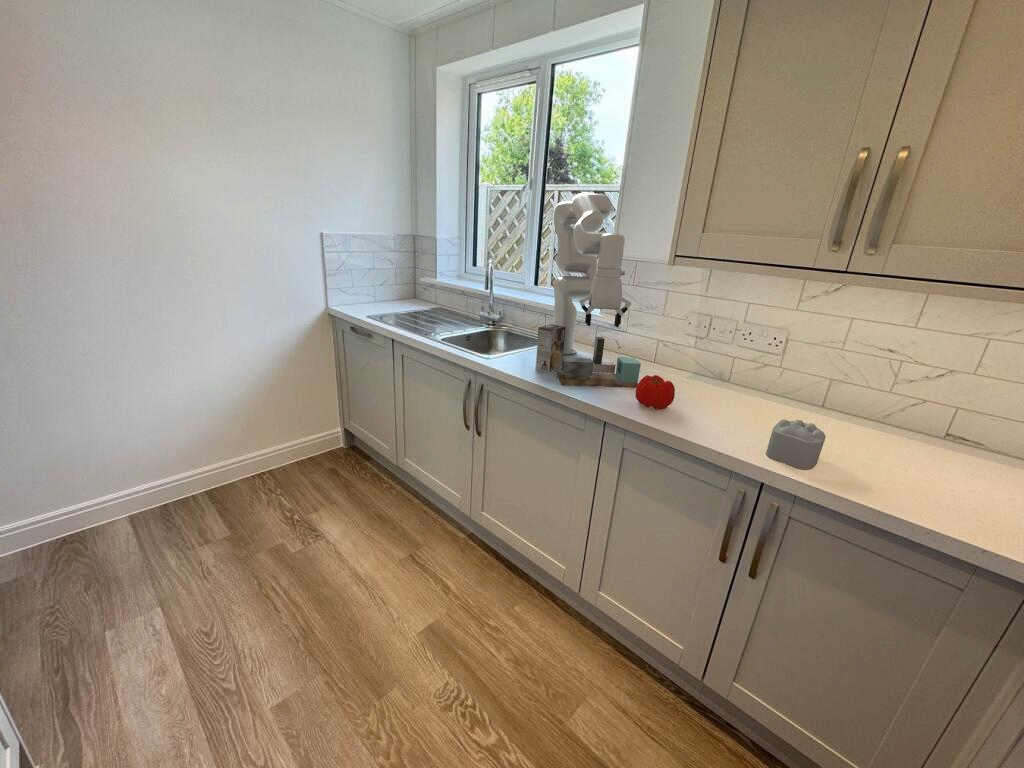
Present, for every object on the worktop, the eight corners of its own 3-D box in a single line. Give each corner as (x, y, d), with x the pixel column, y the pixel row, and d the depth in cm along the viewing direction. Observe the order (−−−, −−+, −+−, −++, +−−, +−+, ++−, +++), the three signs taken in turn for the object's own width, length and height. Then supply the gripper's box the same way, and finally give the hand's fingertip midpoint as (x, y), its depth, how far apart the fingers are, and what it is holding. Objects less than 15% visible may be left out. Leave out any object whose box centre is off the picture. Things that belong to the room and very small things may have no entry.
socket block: (620, 382, 154) (623, 362, 152) (615, 375, 160) (617, 357, 158) (637, 382, 154) (640, 363, 152) (631, 376, 161) (634, 357, 159)
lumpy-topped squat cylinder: (761, 455, 110) (770, 424, 107) (778, 441, 119) (787, 411, 116) (808, 473, 103) (819, 439, 100) (823, 456, 112) (833, 425, 109)
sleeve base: (561, 385, 150) (563, 364, 148) (556, 373, 162) (558, 354, 159) (639, 388, 152) (642, 367, 150) (629, 376, 164) (632, 357, 161)
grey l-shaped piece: (569, 371, 154) (572, 337, 150) (567, 368, 157) (571, 335, 153) (614, 373, 155) (619, 339, 151) (612, 370, 158) (616, 337, 154)
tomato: (627, 400, 141) (631, 373, 138) (660, 399, 144) (665, 372, 141) (644, 414, 131) (649, 385, 128) (680, 412, 134) (685, 383, 131)
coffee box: (548, 364, 172) (551, 323, 167) (562, 368, 169) (566, 326, 164) (534, 369, 166) (538, 326, 160) (549, 373, 162) (553, 330, 157)
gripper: (631, 274, 149) (624, 324, 154) (579, 271, 147) (574, 322, 153) (638, 276, 141) (630, 329, 147) (584, 273, 140) (579, 327, 146)
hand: (602, 325), depth 150 cm, fingers open, 9 cm apart
